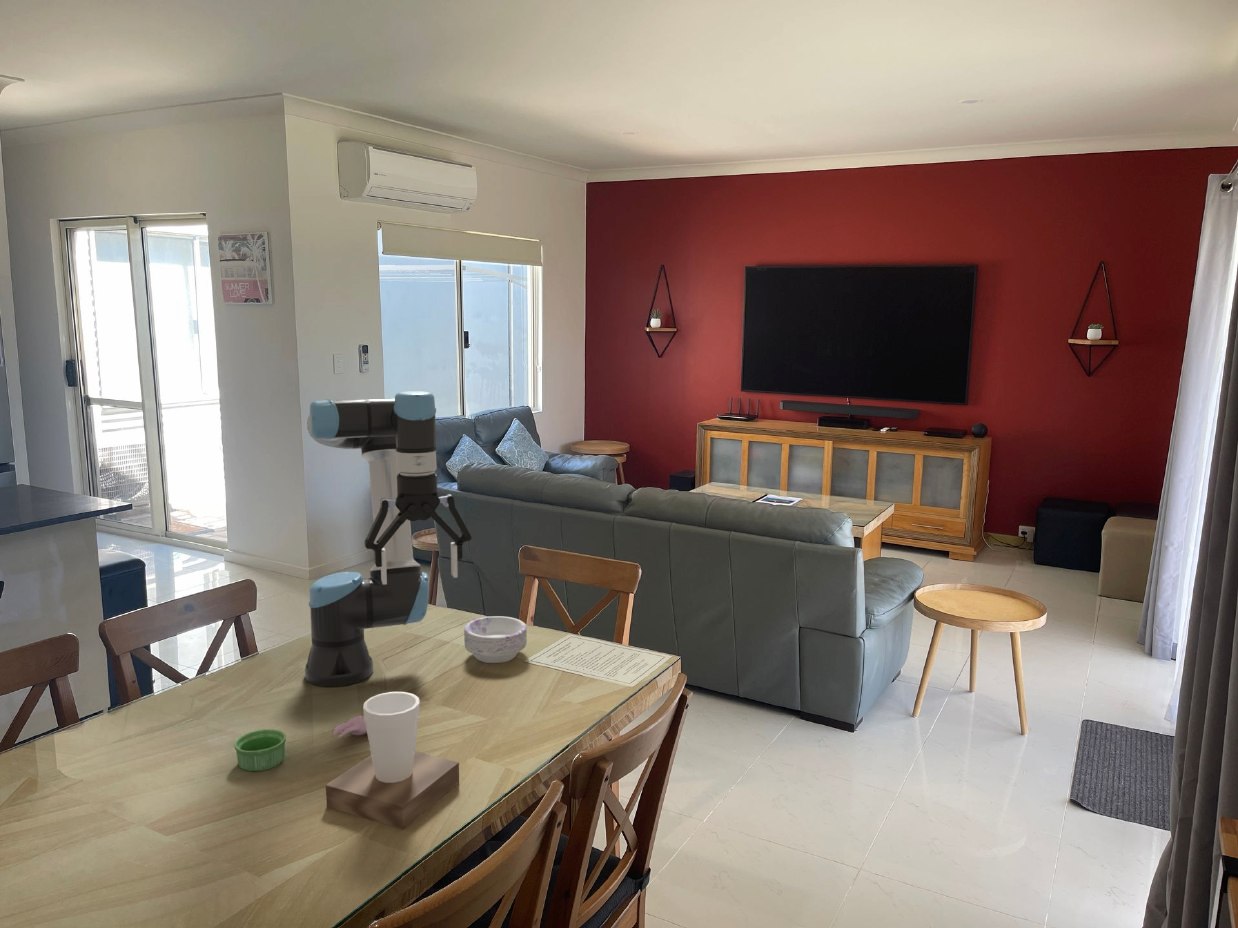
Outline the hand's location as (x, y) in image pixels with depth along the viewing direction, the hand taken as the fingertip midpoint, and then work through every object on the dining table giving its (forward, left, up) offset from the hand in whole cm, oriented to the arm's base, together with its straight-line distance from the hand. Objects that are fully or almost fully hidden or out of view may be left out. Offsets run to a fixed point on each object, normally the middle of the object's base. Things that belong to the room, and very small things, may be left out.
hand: (419, 579), depth 173 cm
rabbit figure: (-10, -6, -32) cm, 34 cm away
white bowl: (-8, +40, -32) cm, 52 cm away
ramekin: (-20, -23, -32) cm, 44 cm away
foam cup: (+10, -22, -28) cm, 37 cm away
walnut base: (+10, -22, -32) cm, 40 cm away
